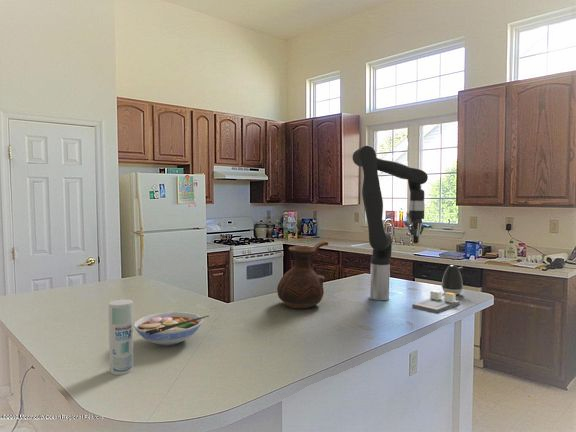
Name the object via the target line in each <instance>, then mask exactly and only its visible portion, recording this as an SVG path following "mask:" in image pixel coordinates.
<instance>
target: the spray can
mask: <svg viewBox="0 0 576 432" xmlns="http://www.w3.org/2000/svg"><path fill="white" fill-rule="evenodd" d="M107 305H108V338H109V339H108V340H109V341H108V342H109V344H108V345H109V371H110V373H111V374H112V375H116V376H117V375H118V376H120V375H125V374H129V373H130V372H132V371H134V314H133V313H134V302H133V300H132V299H115V300H111V301H109V303H108V304H107Z"/></svg>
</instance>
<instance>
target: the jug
mask: <svg viewBox="0 0 576 432" xmlns="http://www.w3.org/2000/svg"><path fill="white" fill-rule="evenodd" d="M323 246H324V247H325V246H329V241H328V240H326V239H323V240H320V241H318V243H317V244H316V245H314V246H308V245H294V246H289V247H288V251H289V252H291V253H293V256H294V264H293V266H292V267H291V268H290V269H289V270H288V271H286V272H285V273H284V274H283V276H282V277H281V279H280V280H279V282H278V284H277V288H276V289H277V291H276V292H277V296H278V299H280V301H281V302H283V303H284V304H285V306H287V307H289V308H291V309H298V310H299V309H309V308H312V307H314V306H316V305H318V304H319V303H320V302H322V299H323V297H324V293H325V292H324V291H325V290H324V280H325V275H321V274H317V273H316V271H315V270H313V269H312V266H311V262H310V260H311V256H313V255H314V254H316V253H317V252H318V251H319V249H320V248H321V247H323Z"/></svg>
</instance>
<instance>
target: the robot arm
mask: <svg viewBox="0 0 576 432" xmlns="http://www.w3.org/2000/svg"><path fill="white" fill-rule="evenodd" d="M352 162H353V163H354V164H355V165H356V166H358V167H360V168H362V171H363V183H362V187H361V188H362V190H361V196H362V202H363V206H364V211H365V216H366V223H367V227H368V241H369V245H370V246H371V248H372V255H371V257H370V274H369V275H370V277H369V299H370V300H373V301H374V300H375V301H388V300H389V299H390V281H391V280H390V277H391V276H390V275H391V274H390V272H391V269H390V268H391V264H390V263H391V258H392V245H393V242H392V236H391V234H390V233H389V232H388V231H386V230H385V227H384V222H383V216H384V215H383V213H384V199H383V194H382V190H381V185H380V179H379V172H382V173H385V174H388V175H391V176H392V177H393V176H394V177H396V178H398V179H402V180H407V181H408V188H409V192H410V195H409V205H408V206H409V207H408V209H409V210H408V218H409V220H411V221H410V225H407V228H408V232H409V233H410V235H411V236H412V241H413V244H419V242H420V241H419V236H421V235H422V233H423V231H424V229H425V227H426V226H425V224H423V220H424V219H425V191H424V190H423V189H422V187H421V186H422V185H424V184H426V182H427V181H428V174H427V173H426V171H424V170H422V169H420V168H415V167H411V166H408V165H405V164H403V163H401V162H399V161H394V160H390V159H388V160H387V159H383V158H379V157H377V153H376V150H375V149H374V147H373V146H371V145H367V144H366V145H364V146H361V147H360V148H358V149H357V150H355V151H354V152H353V154H352Z"/></svg>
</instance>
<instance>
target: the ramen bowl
mask: <svg viewBox="0 0 576 432" xmlns="http://www.w3.org/2000/svg"><path fill="white" fill-rule="evenodd" d="M208 317H210V315H205V316H204V315H203V316H200V315H198V314H197V313H193V312H186V311H167V312H160V313H158V312H157V313H152V314H149V315H146V316H143V317H140V318H138V319H137V320H135V321H134V322H133V328H135V330H136V332H137V333H138V334H139V335H140V336H141V337H142V338H143V339H144V340H145V341H147V342H148V343H152V344H156V345H159V346H167V347H168V346H169V347H170V346H174V345H177V344H179V343H181V342H184V341H186V340H188V339H189V338H191V337H192V336H194V335H195V333H196V332H197V331H198V330H199V328H200V326H201V325H202V324H203V319H205V318H208Z"/></svg>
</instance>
